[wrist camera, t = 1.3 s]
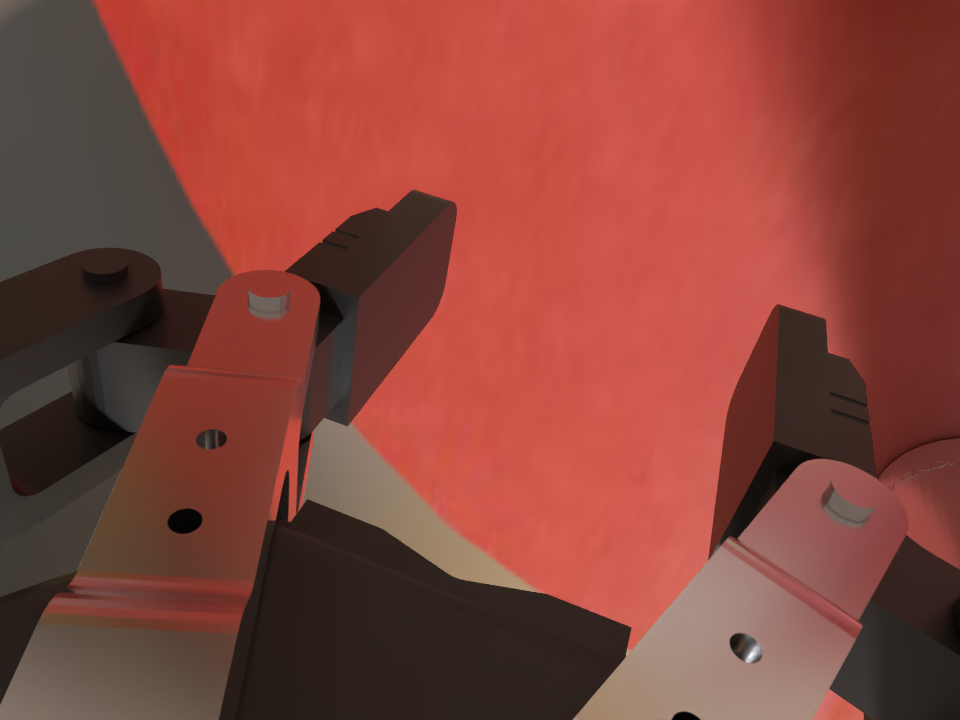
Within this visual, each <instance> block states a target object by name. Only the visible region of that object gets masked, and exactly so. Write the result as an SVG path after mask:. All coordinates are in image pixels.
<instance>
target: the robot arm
mask: <svg viewBox="0 0 960 720" xmlns="http://www.w3.org/2000/svg"><path fill="white" fill-rule="evenodd" d="M456 214H457V208H456V204H455V203H454V202H452V201H448V200H445V199H442V198H439V197H436V196H432V195H429V194H426V193H423V192H420V191H416V190H412V191H411V192H409V193H408V194H407V195H406V196H405V197H404V198H403V199H402V200H400V201H399V202H398V203H397V204H396V205H395V206H394V207H393V208H392V209H390V210H389V211H385V210H382V209H379V208H375V209H371V210H368V211H365V212H362V213H359V214H356V215H353V216H351V217H350V218H348V219H347V220H346V221H345V222H344V223H342V224H341V225H340V226H339V227H338V228H336V231H335V232H332V233H330V234H329V235H328V236H327V237H326V238H324V239H323V242H322V243H318V244H317V245H316V246H315V247H314V248H312V249H311V250H310V251H309V252H308V253H306V254H305V255H304V256H303V257H302V258H300V259H299V260H298V261H297V262H295V263H294V264H293V265H292V266H291V267H289V268H288V269H287V270H286V271H285V272H282V271H274V270H258V271H250V272H245V273H242V274H239V275H236V276H234V277H231V278H229V279H228V280H227V281H225V282H224V283H223V284H222V285H221V286H220V287H219V289H218V291H217V293H216V295H206V294H198V293H190V292H183V291H175V290H168V289H163V288H162V277H161V270H160V267H159V265H158V263H156V262H155V260H153V259H152V258H150V257H149V256H147V255H145V254H143V253H140V252H137V251H133V250H127V249H121V248H97V249H89V250H85V251H80V252H77V253H74V254H71V255H68V256H66V257H63V258H61V259H58V260H56V261H53V262H50V263H48V264H45V265H43V266H40V267H38V268H35V269H33V270H30V271H27V272H25V273H22V274H20V275H18V276H15V277H12V278H9V279H7V280H4V281H2V282H0V407H1V405H2V404H3V403H4V402H5V400H6V399H7V398H8V397H9V396H11V395H12V394H14V393H15V392H17V391H18V390H20V389H22V388H24V387H26V386H28V385H30V384H32V383H34V382H36V381H38V380H40V379H42V378H44V377H46V376H48V375H50V374H52V373H54V372H56V371H58V370H60V369H62V368H64V367H66V366H67V368H68V373H69V378H70V383H71V389H72V392H70V393H68V394H66V395H64V396H62V397H61V398H59V399H57V400H55V401H53V402H51V403H49V404H48V405H45V406H44V407H42V408H40V409H38V410H36V411H34V412H32V413H31V414H29V415H27V416H25V417H23V418H21V419H19V420H18V421H16V422H14V423H12V424H10V425H8V426H7V427H5V428H3V429H1V430H0V549H1V548H3V547H4V546H6V545H7V544H9V543H10V542H12V541H13V540H15V539H16V538H18V537H19V536H21V535H22V534H24V533H26V532H27V531H28V530H30V529H32V528H33V527H35V526H36V525H38V524H39V523H41V522H42V521H44V520H45V519H47V518H48V517H50V516H51V515H53V514H55V513H56V512H58V511H59V510H61V509H62V508H64V507H65V506H67V505H68V504H70V503H71V502H73V501H74V500H76V499H77V498H79V497H81V496H82V495H84V494H85V493H87V492H88V491H90V490H91V489H93V488H94V487H96V486H97V485H99V484H100V483H102V482H103V481H105V480H106V479H108V478H110V477H111V476H113V475H114V474H116V473H117V472H119V471H120V470H121V472H120V475H119V477H118V479H117V481H116V484H115V486H114V489H113V491H112V493H111V495H110V497H109V500H108V502H107V504H106V507H105V509H104V511H103V514H102V516H101V518H100V520H99V523H98V525H97V527H96V529H95V532H94V534H93V536H92V539H91V541H90V543H89V545H88V548H87V550H86V552H85V555H84V557H83V559H82V561H81V564H80V566H79V568H78V570H77V571H74V572H71V573H68V574H65V575H62V576H59V577H56V578H54V579H50V580H48V581H45V582H42V583H39V584H36V585H33V586H30V587H28V588H25V589H22V590H19V591H16V592H13V593H10V594H8V595H5V596H2V597H0V720H812V719H813V717H814V715H815V713H816V712H817V710H818V708H819V706H820V704H821V702H822V701H823V699H824V697H825V695H826V693H827V692H828V690H829V689H830V690H832V691H833V692H835V693H836V694H837V695H839V696H840V697H842V698H843V699H845V700H846V701H848V702H849V703H850V704H852V705H853V706H855V707H856V708H858V709H859V710H861V711H862V712H863V713H864V720H960V438H957V439H948V440H941V441H937V442H933V443H930V444H926V445H922V446H920V447H918V448H916V449H913V450H911V451H909V452H907V453H905V454H903V455H902V456H901V457H899V458H898V459H896V460H895V461H893V462H892V463H891V464H890V465H889V466H888V467H887V468H886V469H885V470H884V472H883V473H882V474H881V475H880V477H879V479H877V477H876V469H875V460H874V452H873V444H872V436H871V428H870V426H868V425H869V423H870V419H869V411H868V408H866V407H867V405H868V403H867V395H866V386H865V382H864V380H863V379H862V378H861V376H860V375H859V373H858V372H857V370H856V369H855V368H854V366H853V365H852V363H851V362H850V360H849V359H846V358H843V357H839V356H836V355H833V354H830V353H828V348H827V330H826V320H825V319H824V318H820V317H817V316H814V315H811V314H808V313H804V312H801V311H798V310H795V309H792V308H788V307H785V306H782V305H779V304H777V305H776V306H775V307H774V309H773V310H772V312H771V314H770V316H769V318H768V320H767V322H766V324H765V326H764V328H763V330H762V332H761V334H760V337H759V339H758V341H757V343H756V345H755V347H754V349H753V351H752V353H751V356H750V358H749V360H748V362H747V364H746V366H745V368H744V370H743V373H742V375H741V377H740V379H739V381H738V383H737V386H736V388H735V391H734V393H733V396H732V399H731V402H730V405H729V409H728V413H727V418H726V425H725V433H724V441H723V449H722V457H721V465H720V472H719V480H718V488H717V496H716V504H715V512H714V519H713V527H712V535H711V543H710V551H709V559H708V562H707V563H706V564H705V565H704V566H703V567H702V569H701V570H700V571H699V572H698V573H697V575H696V576H695V577H694V578H693V579H692V580H691V582H690V583H689V584H688V585H687V586H686V587H685V589H684V590H683V591H682V592H681V593H680V594H679V596H678V597H677V598H676V599H675V600H674V601H673V603H672V604H671V605H670V606H669V607H668V609H667V610H666V611H665V612H664V613H663V614H662V616H661V617H660V618H659V619H658V620H657V621H656V623H655V624H654V625H653V626H652V627H651V628H650V630H649V631H648V632H647V633H646V634H645V635H644V637H643V638H642V639H641V640H640V641H639V643H638V644H637V645H636V646H635V647H634V648H633V650H632V651H631V652H630V653H629V654H628V655H627V656H626V651H627V646H628V641H629V637H630V632H631V627H629V626H626V625H624V624H621V623H619V622H616V621H613V620H611V619H608V618H606V617H603V616H601V615H598V614H596V613H593V612H591V611H588V610H586V609H583V608H581V607H578V606H576V605H573V604H571V603H568V602H566V601H563V600H560V599H558V598H555V597H553V596H550V595H548V594H543V593H537V592H530V591H525V590H519V589H513V588H507V587H501V586H495V585H489V584H483V583H477V582H471V581H465V580H461V579H457V578H455V577H452V576H451V575H449V574H447V573H446V572H444V571H443V570H441V569H440V568H438V567H437V566H436V565H434V564H433V563H431V562H430V561H428V560H427V559H425V558H424V557H422V556H421V555H420V554H418V553H417V552H415V551H414V550H412V549H411V548H409V547H408V546H406V545H405V544H403V543H402V542H401V541H399V540H398V539H396V538H395V537H393V536H392V535H390V534H389V533H388V532H386V531H385V530H383V529H381V528H378V527H376V526H373V525H371V524H368V523H366V522H363V521H361V520H358V519H356V518H353V517H351V516H348V515H346V514H343V513H341V512H338V511H336V510H333V509H331V508H328V507H326V506H323V505H320V504H318V503H315V502H313V501H310V500H307V501H306V502H305V503H304V505H303V506H302V504H303V498H304V492H305V487H306V481H307V475H308V469H309V463H310V458H311V452H312V446H313V430H314V429H315V428H316V427H317V425H318V424H319V423H320V422H321V421H322V419H323V418H327V419H329V420H332V421H335V422H337V423H340V424H343V425H346V426H348V425H349V424H350V423H351V421H352V420H353V419H354V417H355V416H356V415H357V414H358V412H359V411H360V410H361V408H362V407H363V406H364V404H365V403H366V402H367V401H368V399H369V398H370V397H371V395H372V394H373V393H374V392H375V390H376V389H377V388H378V386H379V385H380V384H381V383H382V381H383V380H384V379H385V377H386V376H387V375H388V374H389V372H390V371H391V370H392V368H393V367H394V366H395V365H396V363H397V362H398V361H399V359H400V358H401V357H402V356H403V354H404V353H405V352H406V350H407V349H408V348H409V346H410V345H411V344H412V343H413V341H414V340H415V339H416V337H417V336H418V335H419V334H420V332H421V331H422V330H423V328H424V327H425V326H426V325H427V323H428V322H429V321H430V319H431V318H432V317H433V315H434V313H435V312H436V310H437V308H438V305H439V303H440V300H441V297H442V294H443V291H444V287H445V282H446V276H447V270H448V264H449V258H450V252H451V246H452V240H453V234H454V228H455V222H456Z"/></svg>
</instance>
